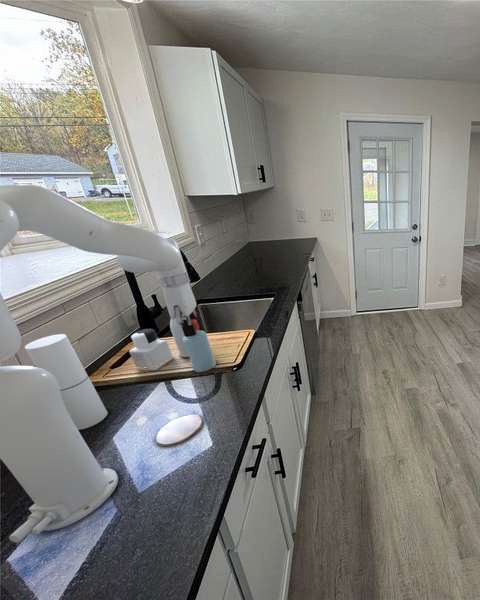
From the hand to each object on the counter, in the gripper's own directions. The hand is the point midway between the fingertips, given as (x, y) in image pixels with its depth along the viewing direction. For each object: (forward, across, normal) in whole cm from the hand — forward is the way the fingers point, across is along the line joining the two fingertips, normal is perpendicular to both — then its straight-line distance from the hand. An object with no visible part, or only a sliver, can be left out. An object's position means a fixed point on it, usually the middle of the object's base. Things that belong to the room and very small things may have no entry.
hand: (193, 331), depth 103 cm
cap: (-1, 0, 0) cm, 1 cm away
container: (+14, -9, -18) cm, 25 cm away
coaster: (+14, +31, +2) cm, 34 cm away
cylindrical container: (+14, +17, -24) cm, 33 cm away
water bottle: (+14, 0, 0) cm, 14 cm away
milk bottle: (+14, -13, -8) cm, 20 cm away
